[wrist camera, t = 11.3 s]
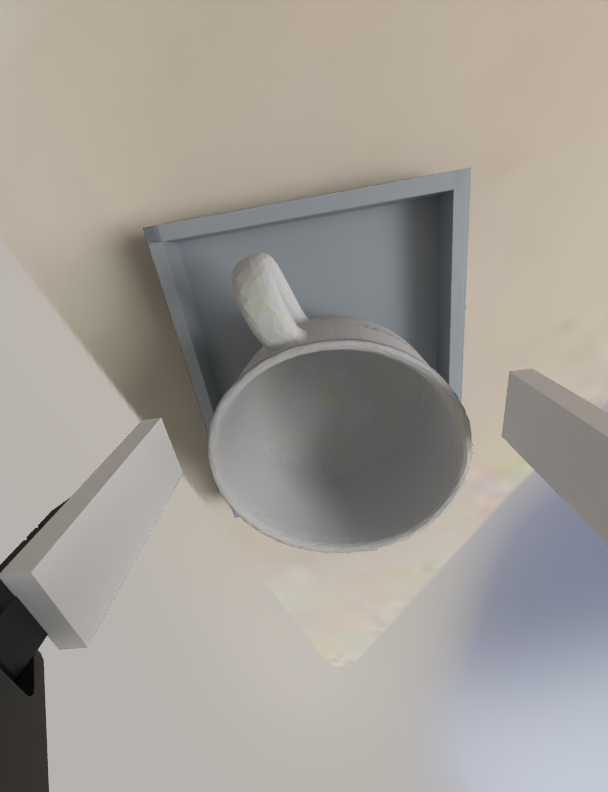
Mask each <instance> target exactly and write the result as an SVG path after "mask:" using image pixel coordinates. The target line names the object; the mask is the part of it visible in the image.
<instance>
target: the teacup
mask: <svg viewBox="0 0 608 792" xmlns="http://www.w3.org/2000/svg"><path fill="white" fill-rule="evenodd" d="M231 277H232V289H233V292H234V295H235V298H236V301H237V303H238V306H239V308H240V310H241V312H242V314H243V316H244V318H245V320H246V322H247V324H248V325H249V327H250V329H251V330H252V332H253V333H254V335H255V336H256V338H257V339H258V340H259V341H260V342H261V343H262V345H263V347H262V348H261V349H260V350H259V351H258V352H257V353H256V354H255V356H254V357H253V358H252V359H251V361H250V362H249V363H248V365H247V366H246V367H245V369H244V370H243V372H242V373H241V375H240V376H239V378H238V379H237V380H236V381H235V382H234V383H233V384H232V385H231V387H230V388H229V389H228V390H227V391H226V392H225V394H224V395H223V397H222V398H221V400H220V402H219V403H218V405H217V407H216V410H215V412H214V415H213V417H212V420H211V423H210V428H209V433H208V444H207V450H208V459H209V463H210V468H211V471H212V475H213V479H214V482H215V484H216V486H217V488H218V490H219V492H220V493H221V495H222V496H223V498H224V499H225V501H226V502H227V503H228V505H229V506H230V507H231V509H232V510H233V511H234V512H235V513H236V514H237V515H239V516H240V517H241V518H242V519H243V520H244V521H245V522H247V523H248V524H249V525H251V526H252V527H253V528H255V529H256V530H258V531H259V532H261V533H263V534H264V535H266V536H268V537H270V538H272V539H274V540H276V541H279V542H281V543H284V544H286V545H290V546H293V547H296V548H300V549H305V550H310V551H317V552H326V553H350V552H361V551H373V550H377V549H379V548H381V547H385V546H388V545H391V544H394V543H396V542H399V541H403V540H406V539H407V538H409V537H411V536H412V535H414V534H416V533H418V532H420V531H422V530H424V529H425V528H426V527H428V526H429V525H430V524H431V523H433V522H434V521H435V520H436V519H437V518H438V517H440V516H441V515H442V514H443V513H444V511H446V510H447V509H448V507H449V506H450V504H451V503H452V502H453V501H454V499H455V498H456V496H457V494H458V493H459V491H460V490H461V488H462V486H463V484H464V482H465V478H466V476H467V474H468V470H469V466H470V461H471V458H472V446H473V444H472V439H471V428H470V421H469V419H468V417H467V415H466V412H465V409H464V407H463V406H462V404H461V403H460V401H459V399H458V396H457V395H456V393H455V392H454V391H453V389H452V388H451V387H450V386H449V384H448V383H447V382H446V381H445V380H444V379H443V378H442V377H441V375H440V374H439V373H438V372H437V371H436V370H435V369H433V368H431V367H430V366H429V365H428V364H427V363H426V361H425V360H424V359H423V358H422V357H421V356H420V355H419V353H418V352H417V351H416V350H415V349H414V348H413V347H412V346H411V345H410V344H408V343H407V342H406V341H405V340H404V339H402V338H401V337H400V336H398V335H397V334H395V333H394V332H392V331H391V330H389V329H388V328H386V327H383V326H381V325H379V324H377V323H375V322H372V321H369V320H366V319H363V318H359V317H353V316H343V315H331V316H322V317H316V318H312V319H309V318H307V317H306V315H305V314H304V312H303V310H302V309H301V307H300V305H299V303H298V302H297V300H296V298H295V296H294V294H293V292H292V290H291V288H290V286H289V284H288V283H287V281H286V279H285V277H284V275H283V273H282V271H281V270H280V268H279V266H278V264H277V263H276V262H275V260H274V259H273V258H272V257H271V256H270V255H268V254H267V253H263V252H258V253H254V254H251V255H249V256H247V257H246V258H244V259H242V260H241V261H239V262H238V263H237V264H236V266H235V267H234V269H233V271H232V274H231Z"/></svg>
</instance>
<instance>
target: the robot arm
mask: <svg viewBox="0 0 608 792" xmlns="http://www.w3.org/2000/svg"><path fill="white" fill-rule="evenodd" d="M502 437H503V438H504V439H505V440H506V441H507V442H508V443H509V444H510V445H511V446H512V447H513V448H514V449H515V450H516V451H517V452H518V453H519V454H520V455H521V456H522V458H523V459H524V460H525V461H526V462H527V463H528V464H529V465H530V466H531V467H532V468H533V469H534V470H535V471H536V472H537V473H538V474H539V475H540V476H541V477H542V478H543V479H544V480H545V481H546V482H547V483H548V484H549V485H550V486H551V487H552V488H553V489H554V491H555V492H556V493H557V494H558V495H559V496H560V497H561V498H562V499H563V500H564V501H565V502H566V503H567V504H568V505H569V506H570V507H571V508H572V509H573V510H574V511H575V512H576V513H577V514H578V515H579V516H580V517H581V518H582V519H583V520H584V522H586V524H587V525H588V526H589V527H590V528H591V529H592V530H593V531H594V532H595V533H596V534H597V535H598V536H599V537H600V538H601V539H602V540H603V541H604V542H605V543H606V544H607V545H608V413H607V412H605V411H604V410H602V409H600V408H598V407H597V406H595V405H593V404H592V403H590V402H588V401H587V400H585V399H583V398H581V397H580V396H578V395H576V394H575V393H573V392H571V391H569V390H568V389H566V388H564V387H563V386H561V385H559V384H557V383H556V382H554V381H552V380H551V379H549V378H547V377H546V376H544V375H542V374H540V373H539V372H537V371H535V370H534V369H524V370H517V371H509V380H508V388H507V397H506V405H505V414H504V422H503V430H502ZM182 474H183V472H182V469H181V467H180V464H179V462H178V459H177V457H176V454H175V451H174V449H173V446H172V444H171V441H170V439H169V436H168V434H167V431H166V428H165V426H164V423H163V421H162V418H154V419H147V420H142V421H141V422H140V423H139V425H138V426H137V427H136V428H135V429H134V430H133V431H132V432H131V433H130V434H129V435H128V436H127V438H126V439H125V440H124V441H123V442H122V443H121V444H120V445H119V446H118V447H117V448H116V449H115V450H114V451H113V452H112V454H111V455H110V456H109V457H108V458H107V459H106V460H105V461H104V462H103V463H102V464H101V465H100V466H99V468H98V469H97V470H96V471H95V472H94V473H93V474H92V475H91V476H90V477H89V478H88V479H87V480H86V481H85V483H84V484H83V485H82V486H81V487H80V488H79V489H78V490H77V491H76V492H75V493H74V494H73V495H72V497H71V498H69V499H68V500H66V501H65V502H63V503H62V504H61V505H59V506H58V507H57V508H55V509H54V510H52V511H51V512H50V513H49V515H48V516H47V517H46V518H45V519H44V520H43V521H42V522H41V523H40V524H39V525H38V528H35V529H34V530H33V531H32V532H31V533H30V534H29V536H27V540H24V541H23V542H22V543H21V544H20V545H19V546H18V547H17V548H16V549H15V550H14V551H13V552H12V553H11V554H10V555H9V556H8V557H7V558H6V560H5V561H4V562H3V563H2V564H1V565H0V792H49V784H48V759H47V736H46V709H45V686H44V685H45V684H44V661H43V658H42V655H41V653H40V652H39V651H38V648H39V647H40V645H41V644H42V642H43V641H44V639H45V638H46V636H48V637H49V638H50V639H51V641H52V642H53V643H54V644H55V645H56V646H57V647H58V649H71V648H86V647H88V646H89V644H90V642H91V641H92V639H93V637H94V635H95V633H96V632H97V629H98V628H99V626H100V624H101V622H102V620H103V619H104V617H105V615H106V613H107V611H108V610H109V608H110V606H111V604H112V602H113V600H114V599H115V597H116V595H117V593H118V591H119V589H120V588H121V586H122V584H123V582H124V580H125V578H126V577H127V575H128V573H129V571H130V569H131V568H132V566H133V564H134V562H135V560H136V558H137V557H138V555H139V553H140V551H141V549H142V547H143V546H144V544H145V542H146V540H147V538H148V536H149V535H150V533H151V531H152V529H153V527H154V525H155V524H156V522H157V520H158V518H159V516H160V515H161V513H162V511H163V509H164V507H165V505H166V504H167V502H168V500H169V498H170V496H171V494H172V493H173V491H174V489H175V487H176V485H177V484H178V481H179V480H180V478H181V476H182Z"/></svg>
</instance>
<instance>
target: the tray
mask: <svg viewBox="0 0 608 792" xmlns="http://www.w3.org/2000/svg"><path fill="white" fill-rule="evenodd" d="M470 177H471V168H466V169H461V170H455V171H450V172H444V173H439V174H434V175H428V176H423V177H417V178H412V179H406V180H401V181H396V182H390V183H385V184H379V185H374V186H368V187H363V188H358V189H352V190H347V191H341V192H336V193H330V194H325V195H319V196H314V197H309V198H303V199H298V200H292V201H287V202H281V203H276V204H271V205H265V206H260V207H254V208H249V209H243V210H238V211H233V212H227V213H222V214H216V215H211V216H205V217H200V218H194V219H189V220H184V221H178V222H173V223H167V224H162V225H156V226H151V227H146V228H143V230H144V233H145V236H146V239H147V242H148V245H149V249H150V252H151V255H152V258H153V261H154V264H155V268H156V271H157V274H158V277H159V280H160V283H161V287H162V290H163V293H164V296H165V299H166V302H167V305H168V309H169V312H170V315H171V318H172V321H173V324H174V328H175V331H176V334H177V337H178V340H179V343H180V347H181V350H182V353H183V356H184V359H185V362H186V366H187V369H188V372H189V375H190V378H191V381H192V385H193V388H194V391H195V394H196V397H197V400H198V404H199V407H200V410H201V413H202V416H203V419H204V423H205V426H206V429H207V432H208V433H209V428H210V423H211V420H212V417H213V415H214V412H215V410H216V407H217V405H218V403H219V402H220V400H221V398H222V397H223V395H224V394H225V392H226V391H227V390H228V389H229V388H230V387H231V385H232V384H233V383H234V382H235V381H236V380H237V379H238V378H239V376H240V375H241V373H242V372H243V370H244V369H245V367H246V366H247V365H248V363H249V362H250V361H251V359H252V358H253V357H254V356H255V354H256V353H257V352H258V351H259V350H260V349H261V348H262V347H263V345H262V343H261V342H260V341H259V340H258V339H257V338H256V336H255V335H254V333H253V332H252V330H251V329H250V327H249V325H248V324H247V322H246V320H245V318H244V316H243V314H242V312H241V310H240V308H239V306H238V303H237V301H236V298H235V295H234V292H233V289H232V277H231V274H232V271H233V269H234V267H235V266H236V264H237V263H238V262H239V261H241V260H242V259H244V258H246V257H247V256H249V255H251V254H254V253H258V252H263V253H267V254H268V255H270V256H271V257H272V258H273V259H274V260H275V262H276V263H277V264H278V266H279V268H280V270H281V271H282V273H283V275H284V277H285V279H286V281H287V283H288V284H289V286H290V288H291V290H292V292H293V294H294V296H295V298H296V300H297V302H298V303H299V305H300V307H301V309H302V310H303V312H304V314H305V315H306V317H307V318H309V319H312V318H316V317H322V316H331V315H343V316H353V317H359V318H363V319H366V320H369V321H372V322H375V323H377V324H379V325H381V326H383V327H386V328H388V329H389V330H391V331H392V332H394V333H395V334H397V335H398V336H400V337H401V338H402V339H404V340H405V341H406V342H407V343H408V344H410V345H411V346H412V347H413V348H414V349H415V350H416V351H417V352H418V353H419V355H420V356H421V357H422V358H423V359H424V360H425V361H426V363H427V364H428V365H429V366H430V367H431V368H433V369H435V370H436V371H437V372H438V373H439V374H440V375H441V377H442V378H443V379H444V380H445V381H446V382H447V383H448V384H449V386H450V387H451V388H452V389H453V391H454V392H455V393H456V395H457V396H458V399H459V401H460V403H461V396H462V371H463V347H464V323H465V298H466V274H467V250H468V225H469V201H470ZM232 511H233V510H232ZM233 514H234V517H240V516H239V515H237V514H236V513H235V512H234V511H233Z"/></svg>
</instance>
